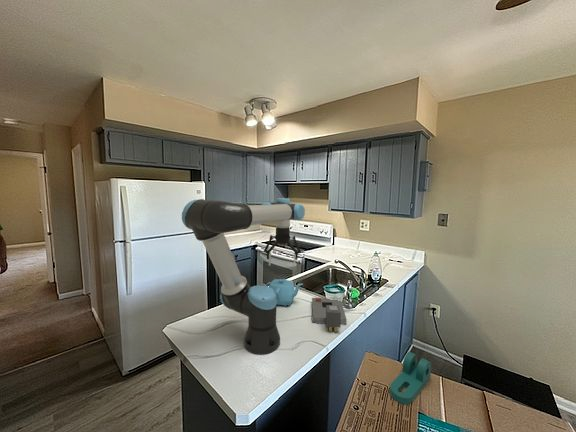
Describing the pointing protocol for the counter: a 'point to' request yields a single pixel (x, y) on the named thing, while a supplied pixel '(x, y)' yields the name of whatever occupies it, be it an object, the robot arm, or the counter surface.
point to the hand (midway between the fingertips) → (282, 265)
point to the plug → (333, 317)
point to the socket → (320, 310)
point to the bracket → (410, 379)
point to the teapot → (284, 290)
